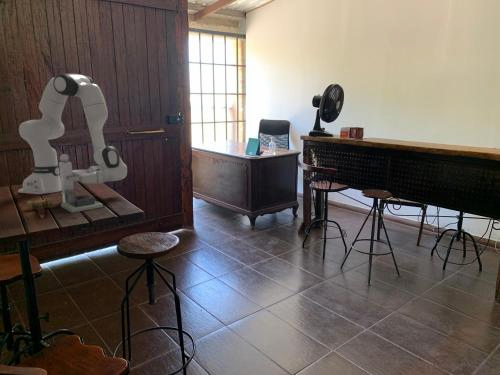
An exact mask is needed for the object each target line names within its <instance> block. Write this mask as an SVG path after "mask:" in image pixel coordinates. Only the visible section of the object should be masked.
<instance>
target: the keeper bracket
mask: <svg viewBox="0 0 500 375" xmlns="http://www.w3.org/2000/svg"><path fill="white" fill-rule="evenodd" d="M67 195H68V203H63V202H62V203H60V207H61V208H63V209H64V210H66V211H68V212H70V213H72V214H73V213H78V212H83V211H89V210H94V209H95V210H96V209H99V208H104V205H103V204H104V203H101V202H100V201H97V200H96V197H94V196H93V197H89V194H82V195H77V194H76V193H74V194H73V193H71V192H67Z"/></svg>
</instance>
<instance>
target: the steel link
mask: <svg viewBox="0 0 500 375" xmlns="http://www.w3.org/2000/svg"><path fill="white" fill-rule="evenodd" d="M59 160H60V162H58V165H59V176H60V180H61V187H62V190H61V193H62V194H61V195H62V203H68V195H67V192H71V193H73V194H75V187H74V186H75V185H74V181H69V177H73V173H72V170H73V165H72V162H71V161H70V160H71V158H70V155H69V154H66V153H62V154H61V155H59Z"/></svg>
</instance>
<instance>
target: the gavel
mask: <svg viewBox="0 0 500 375" xmlns="http://www.w3.org/2000/svg"><path fill="white" fill-rule="evenodd" d="M26 206H27V211H30V212H31V211H34V210H37V214H38V218H40V219H44V218H45V217H46V212H45V209H53V208H54V207H53V199H52V198H47V199H43V200H42V199H41V200H40V199H39V200H34V201H33V200H27V201H26Z"/></svg>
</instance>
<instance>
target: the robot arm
mask: <svg viewBox="0 0 500 375" xmlns="http://www.w3.org/2000/svg"><path fill="white" fill-rule="evenodd" d="M68 97H78V98H79V99H80V100H81V104H82V108H83V112H84V115H85V118H86V122H87V123H86V124H87V126H88V131H89V137H90V142H91V146H92V153H91V161H92V162H93V164H94V165H91V166H90V165H89V168H87V169H72V173H73V177H69V181H73V182H80V183H82V184H93V185H94V184H98V185H99V184H102V183H105V182H117V181H121V180H123V179H125V178H126V177H127V175H128V167H127V164H125V163H124V161H123V160H122V158H121V156H120V152H119V150H118V149H117V147H115V146H111V145H108V146H106V144H105V139H104V134H103V129H104V125H105V123H106V121H107V120H108V117H109V114H108V113H109V111H108V106H107V103H106V99H105V96H104V95H103V91H102V90H101V87H100V86H99V85H98V84H95V82H94V80H93V78H91V77H90V76H88V75H85V74H80V73H79V74H78V73H58V74H57V75H56V76H54V77H51V78H50V79H49V81H48V83H47V84H46V86H45V87H44V90H43V93H42V95H41V99H40V102H39V103H38V104H39V105H38V109H39V111H40V112H41V113H42V116H41V118H39V119H29V120H27V121H24V122H22V123H20V125H19V127H18V134H19V136H20V137H21V138H22V140H24V141H26V142H27V143H28V145H29V146H30V148H31V151H32V153H33V154H32V155H33V159H34V166H33V167H31V168H30V171H32V170H33V171H32V173H31V174H30V175H28V176H27V177H26V178H25V179H24V180H23V181H22V188H20V189H18V193H21V194H29V195H30V194H31V195H43V194H50V193H51V194H52V193H58V192H62V187H61V178H60V168H59V162H58V154H57V151H56V149H55V148H53V147H52V146H51V144H50V143H49V141H50V140H55V139H58V138H60V137H62V136H63V135H64V134H65V130H66V129H65V125H64V123H63V122H62V115H63V111H64V108H65V106H66V103H67V99H68Z"/></svg>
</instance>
